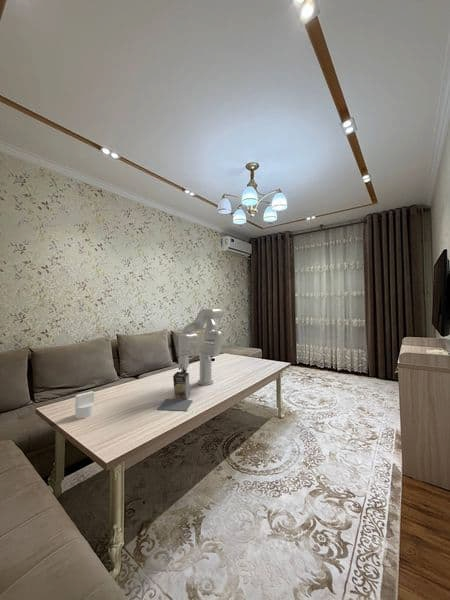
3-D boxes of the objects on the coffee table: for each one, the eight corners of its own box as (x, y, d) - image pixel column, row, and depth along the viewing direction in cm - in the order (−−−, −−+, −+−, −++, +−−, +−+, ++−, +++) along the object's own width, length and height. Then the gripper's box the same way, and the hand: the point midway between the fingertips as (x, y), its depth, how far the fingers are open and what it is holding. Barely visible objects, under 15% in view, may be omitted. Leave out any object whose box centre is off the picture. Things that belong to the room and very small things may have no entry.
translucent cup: (89, 410, 145) (89, 389, 146) (96, 414, 140) (96, 393, 140) (72, 415, 138) (73, 394, 139) (79, 420, 133) (79, 398, 133)
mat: (165, 399, 162) (165, 398, 162) (192, 400, 161) (192, 400, 161) (156, 409, 146) (156, 409, 146) (186, 411, 145) (186, 410, 145)
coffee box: (174, 398, 165) (172, 375, 162) (178, 393, 171) (176, 371, 168) (187, 399, 162) (185, 377, 159) (190, 394, 168) (189, 372, 165)
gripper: (181, 350, 178) (181, 375, 177) (175, 354, 163) (175, 382, 163) (192, 350, 177) (191, 376, 177) (186, 354, 162) (186, 382, 162)
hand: (183, 378), depth 170 cm, fingers closed
